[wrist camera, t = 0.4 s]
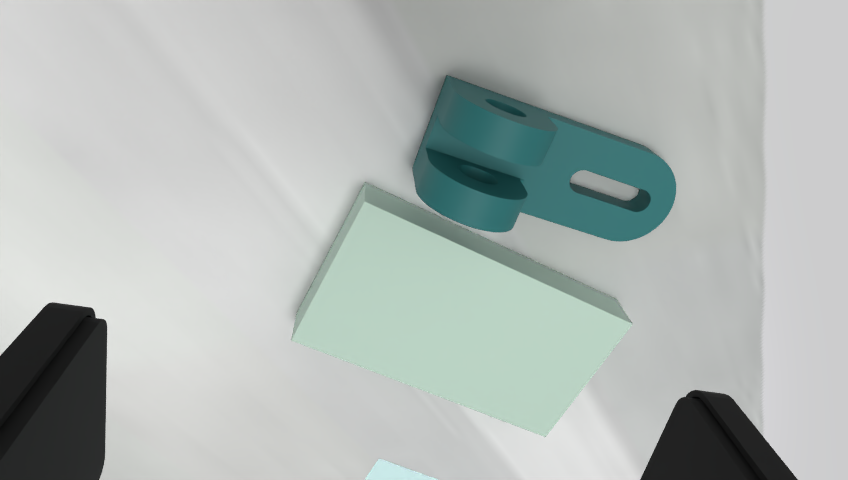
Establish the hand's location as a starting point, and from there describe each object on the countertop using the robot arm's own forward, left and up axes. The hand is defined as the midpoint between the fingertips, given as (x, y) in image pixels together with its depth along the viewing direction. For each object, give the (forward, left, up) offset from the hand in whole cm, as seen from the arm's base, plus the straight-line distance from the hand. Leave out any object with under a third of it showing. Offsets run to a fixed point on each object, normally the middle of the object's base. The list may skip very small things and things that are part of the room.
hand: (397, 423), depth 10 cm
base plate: (+14, +14, -34) cm, 40 cm away
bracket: (+1, +14, -34) cm, 37 cm away
